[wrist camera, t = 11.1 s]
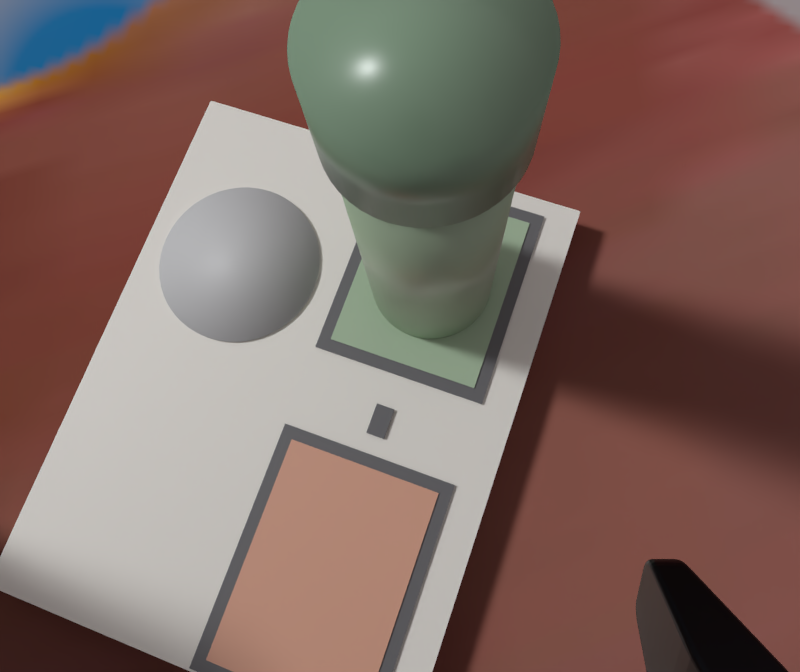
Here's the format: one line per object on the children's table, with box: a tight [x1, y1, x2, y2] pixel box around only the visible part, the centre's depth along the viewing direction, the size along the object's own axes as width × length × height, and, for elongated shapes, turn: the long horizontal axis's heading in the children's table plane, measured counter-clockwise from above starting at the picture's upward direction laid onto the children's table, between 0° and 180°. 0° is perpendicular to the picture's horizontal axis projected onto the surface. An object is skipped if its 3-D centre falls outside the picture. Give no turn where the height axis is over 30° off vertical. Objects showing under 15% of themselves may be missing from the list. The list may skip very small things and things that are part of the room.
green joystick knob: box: [287, 0, 560, 339], centre depth 17 cm, size 4×4×12 cm
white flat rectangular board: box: [0, 101, 580, 672], centre depth 22 cm, size 18×14×1 cm
